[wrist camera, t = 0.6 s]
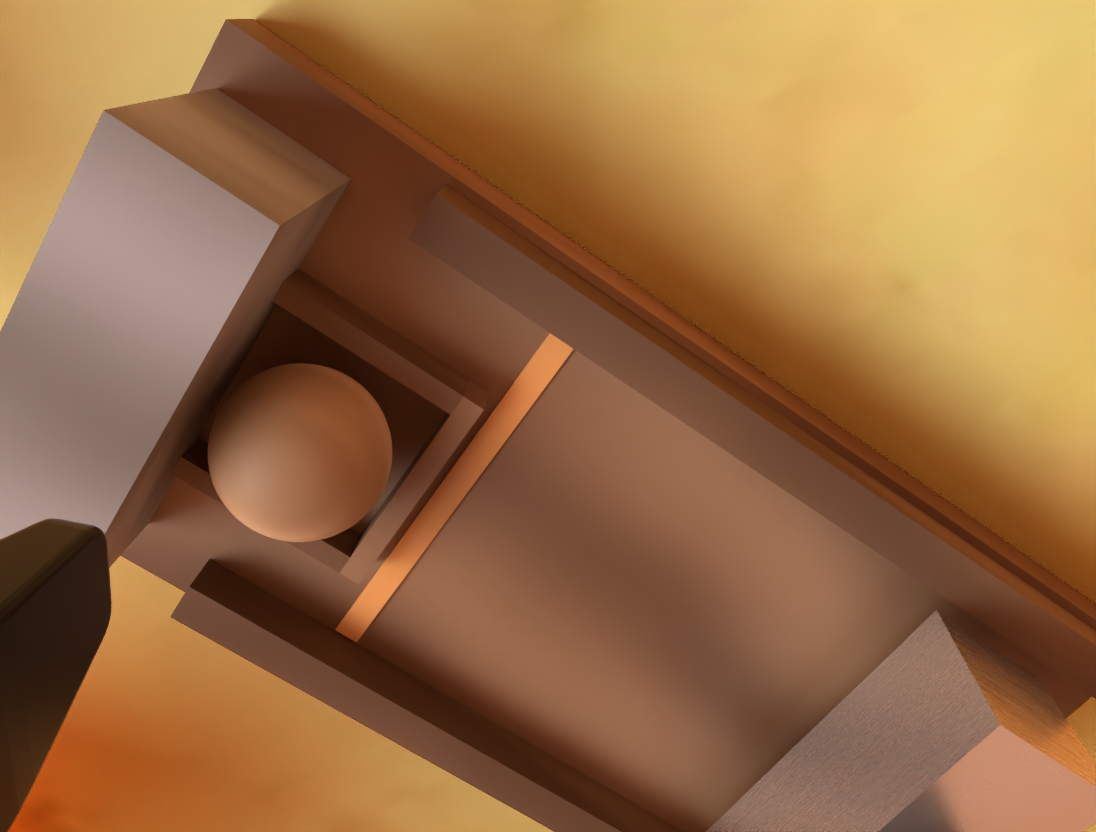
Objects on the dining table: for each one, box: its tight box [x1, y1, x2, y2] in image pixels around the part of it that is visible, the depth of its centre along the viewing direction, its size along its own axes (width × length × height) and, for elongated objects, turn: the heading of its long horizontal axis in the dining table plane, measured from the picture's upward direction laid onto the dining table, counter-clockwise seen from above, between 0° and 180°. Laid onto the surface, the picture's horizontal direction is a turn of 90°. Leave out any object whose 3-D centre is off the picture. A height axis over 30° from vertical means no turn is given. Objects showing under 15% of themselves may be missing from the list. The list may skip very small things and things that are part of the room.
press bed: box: [0, 19, 1096, 832], centre depth 21 cm, size 12×24×6 cm, turn 56°
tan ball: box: [208, 363, 392, 542], centre depth 19 cm, size 4×4×4 cm
